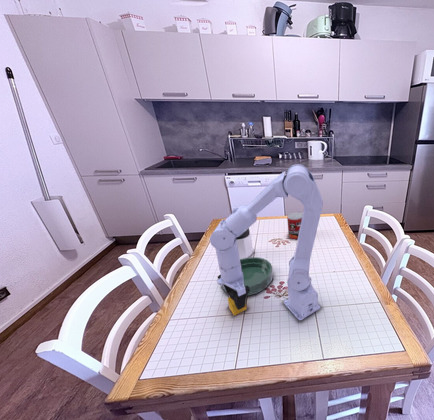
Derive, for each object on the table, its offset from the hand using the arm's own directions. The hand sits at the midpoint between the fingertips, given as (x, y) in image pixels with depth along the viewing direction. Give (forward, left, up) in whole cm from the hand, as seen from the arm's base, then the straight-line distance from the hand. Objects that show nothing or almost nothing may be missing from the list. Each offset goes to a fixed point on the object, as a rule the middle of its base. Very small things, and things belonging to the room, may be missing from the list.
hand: (236, 300), depth 72 cm
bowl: (+11, -8, -3) cm, 14 cm away
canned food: (+28, -40, -3) cm, 49 cm away
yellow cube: (0, 0, -3) cm, 3 cm away
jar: (+29, -13, -4) cm, 32 cm away
